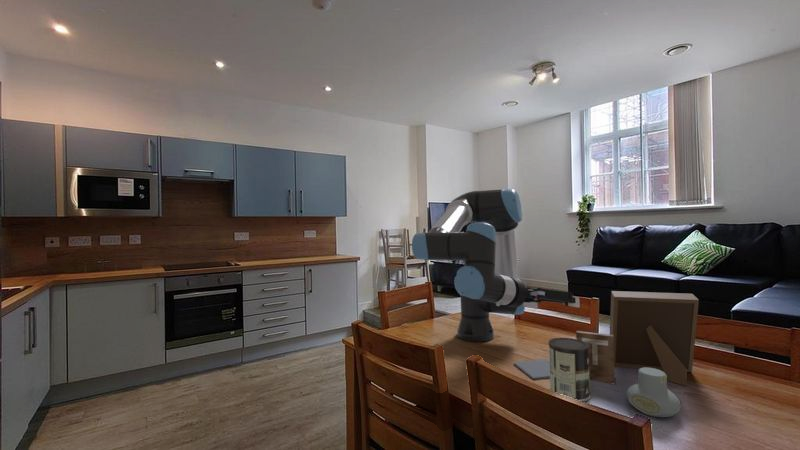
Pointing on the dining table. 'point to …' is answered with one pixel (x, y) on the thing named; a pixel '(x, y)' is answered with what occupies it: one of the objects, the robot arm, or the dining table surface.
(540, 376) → the grey mat
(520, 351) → the dining table surface
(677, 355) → the photo frame
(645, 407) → the air freshener
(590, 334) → the letter tile
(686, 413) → the dining table surface
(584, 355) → the coffee can
